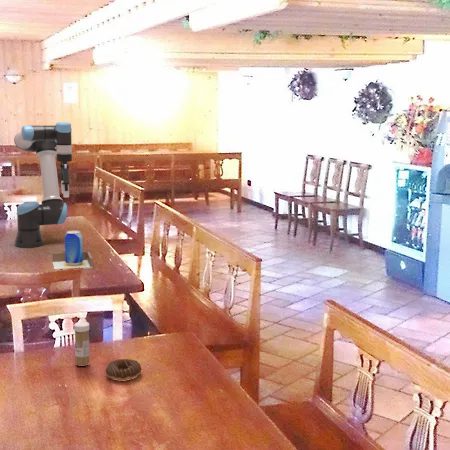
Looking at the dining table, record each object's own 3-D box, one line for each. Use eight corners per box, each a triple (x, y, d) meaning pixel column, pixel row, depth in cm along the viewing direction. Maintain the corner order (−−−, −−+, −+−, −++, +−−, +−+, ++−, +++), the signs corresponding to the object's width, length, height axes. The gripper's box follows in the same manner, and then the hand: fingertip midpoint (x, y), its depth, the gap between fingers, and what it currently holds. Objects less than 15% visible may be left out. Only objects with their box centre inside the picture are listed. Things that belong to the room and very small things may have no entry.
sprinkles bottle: (72, 364, 200) (71, 323, 198) (84, 360, 204) (83, 320, 201) (81, 369, 197) (80, 327, 195) (93, 364, 201) (92, 323, 198)
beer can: (62, 265, 313) (61, 233, 309) (69, 261, 321) (69, 229, 317) (78, 266, 311) (77, 234, 308) (85, 262, 319) (85, 230, 316)
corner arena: (52, 262, 320) (52, 253, 319) (89, 260, 326) (89, 251, 325) (54, 270, 306) (53, 260, 305) (92, 268, 312) (92, 258, 311)
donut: (144, 369, 199) (144, 357, 198) (137, 384, 188) (137, 371, 187) (110, 368, 199) (110, 355, 198) (101, 382, 189) (101, 370, 188)
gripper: (54, 151, 335) (56, 191, 339) (58, 155, 312) (59, 199, 316) (69, 151, 337) (70, 191, 341) (74, 155, 314) (75, 198, 318)
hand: (65, 195), depth 329 cm, fingers open, 13 cm apart
